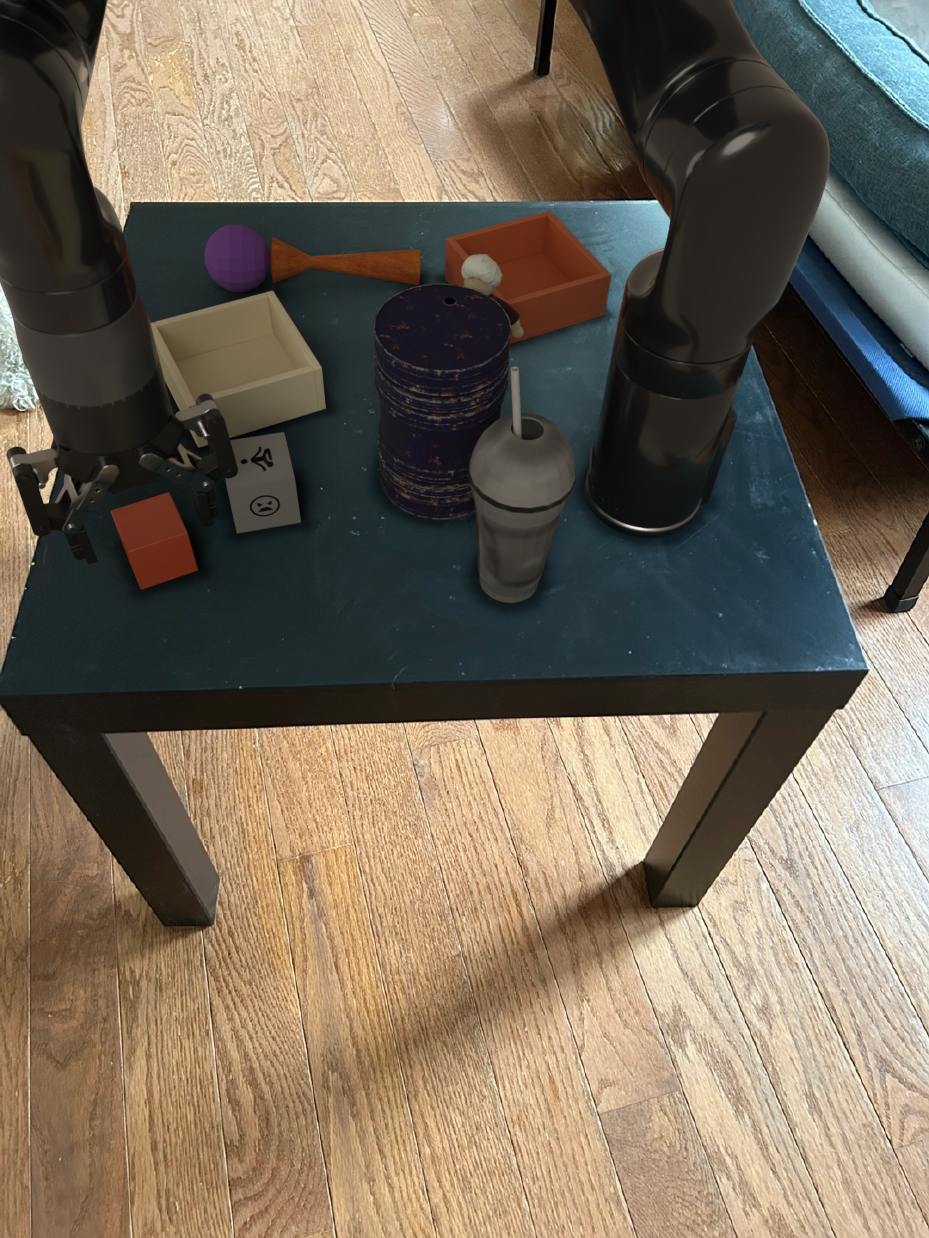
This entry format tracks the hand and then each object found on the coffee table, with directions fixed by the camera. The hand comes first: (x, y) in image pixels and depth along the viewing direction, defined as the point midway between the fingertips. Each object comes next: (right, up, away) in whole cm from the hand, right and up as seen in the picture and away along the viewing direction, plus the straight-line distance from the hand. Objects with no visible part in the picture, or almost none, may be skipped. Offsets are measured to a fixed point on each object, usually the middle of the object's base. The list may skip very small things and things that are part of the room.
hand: (148, 536), depth 73 cm
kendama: (+9, +26, +23) cm, 36 cm away
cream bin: (+4, +14, +14) cm, 20 cm away
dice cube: (+7, +3, +6) cm, 10 cm away
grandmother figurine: (+24, +15, +16) cm, 32 cm away
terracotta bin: (+29, +25, +23) cm, 45 cm away
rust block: (0, -2, +2) cm, 3 cm away
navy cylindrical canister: (+21, +6, +9) cm, 24 cm away
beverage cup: (+27, -3, +3) cm, 27 cm away
